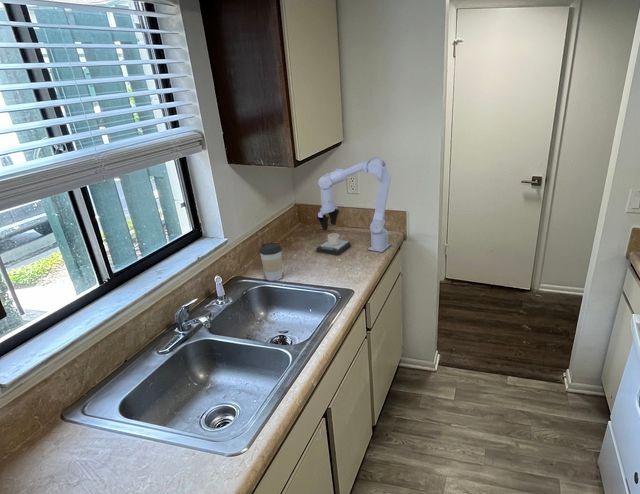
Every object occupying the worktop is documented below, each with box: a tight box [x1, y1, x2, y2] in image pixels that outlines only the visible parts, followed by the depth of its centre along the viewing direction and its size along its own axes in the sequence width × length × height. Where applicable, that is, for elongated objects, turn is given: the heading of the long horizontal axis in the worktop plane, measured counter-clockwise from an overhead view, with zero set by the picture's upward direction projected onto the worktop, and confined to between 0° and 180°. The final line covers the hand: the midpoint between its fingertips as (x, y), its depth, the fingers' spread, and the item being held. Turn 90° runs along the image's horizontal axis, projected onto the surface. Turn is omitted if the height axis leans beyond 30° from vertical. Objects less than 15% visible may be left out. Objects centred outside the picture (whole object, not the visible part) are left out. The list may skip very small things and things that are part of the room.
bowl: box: [327, 232, 341, 246], centre depth 213 cm, size 6×6×4 cm
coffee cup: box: [258, 242, 283, 282], centre depth 184 cm, size 9×9×15 cm
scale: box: [316, 239, 352, 256], centre depth 214 cm, size 12×12×3 cm
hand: (329, 226), depth 213 cm, fingers open, 7 cm apart
